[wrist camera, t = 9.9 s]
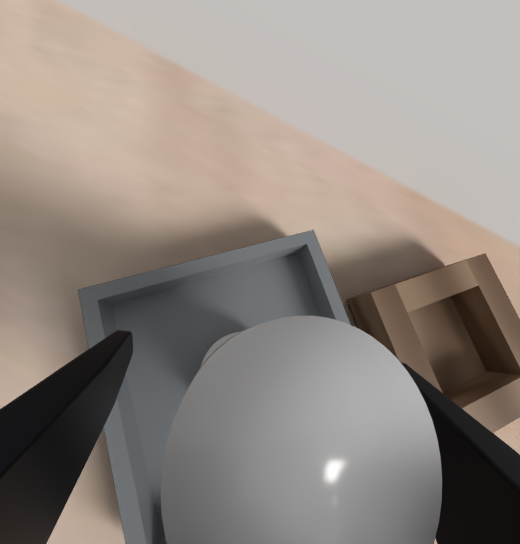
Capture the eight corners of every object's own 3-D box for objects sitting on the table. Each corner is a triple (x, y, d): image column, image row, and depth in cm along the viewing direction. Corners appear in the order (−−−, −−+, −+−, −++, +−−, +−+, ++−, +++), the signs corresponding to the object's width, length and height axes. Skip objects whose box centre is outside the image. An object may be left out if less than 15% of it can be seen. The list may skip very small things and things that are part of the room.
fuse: (236, 435, 15) (315, 763, 3) (183, 371, 15) (90, 468, 4) (293, 374, 16) (487, 457, 5) (243, 316, 17) (312, 265, 5)
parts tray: (152, 550, 13) (136, 603, 11) (100, 298, 16) (77, 289, 13) (372, 438, 17) (402, 457, 14) (299, 244, 19) (313, 229, 17)
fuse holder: (403, 442, 17) (441, 462, 14) (346, 299, 19) (370, 292, 16) (508, 386, 19) (558, 394, 17) (449, 264, 21) (485, 253, 18)
